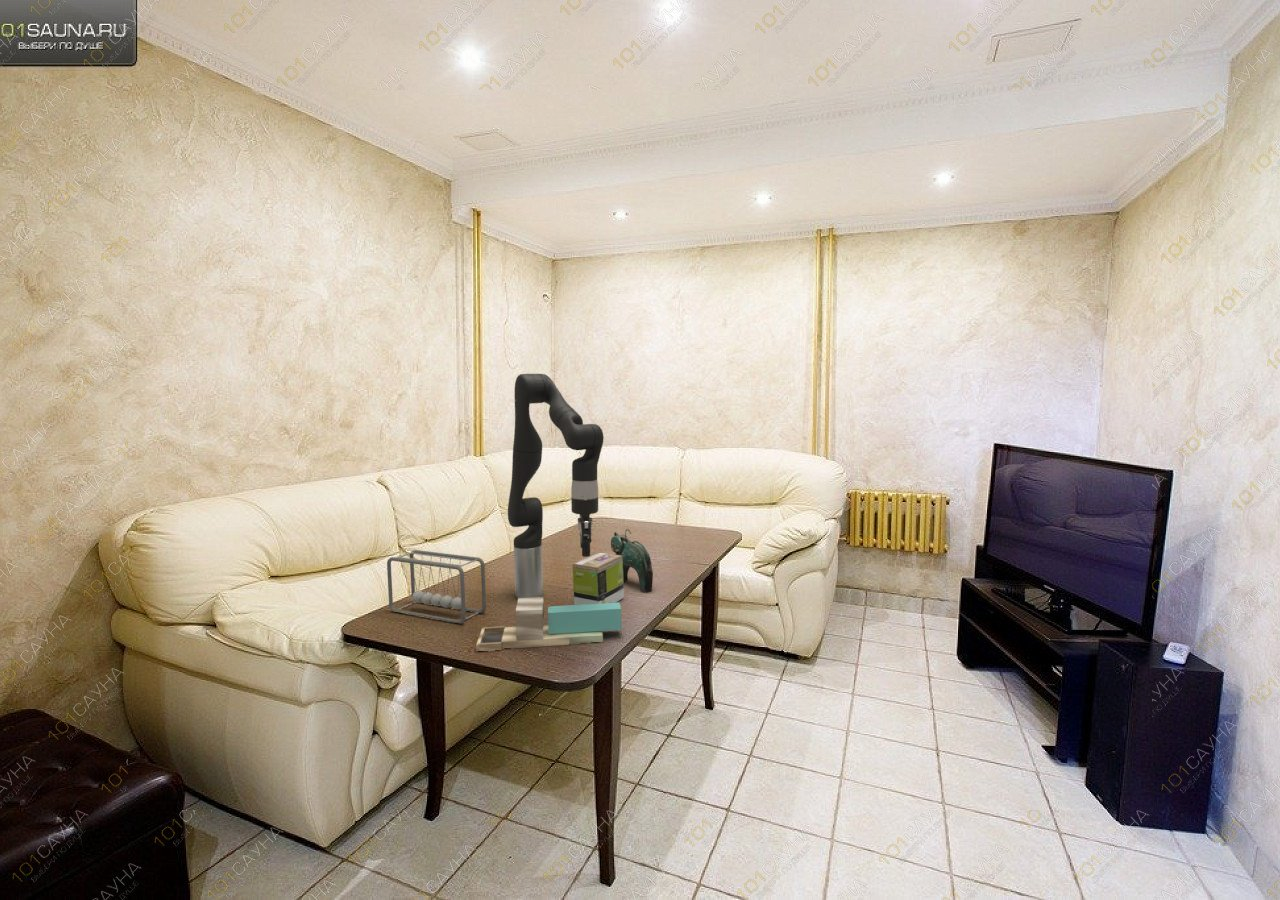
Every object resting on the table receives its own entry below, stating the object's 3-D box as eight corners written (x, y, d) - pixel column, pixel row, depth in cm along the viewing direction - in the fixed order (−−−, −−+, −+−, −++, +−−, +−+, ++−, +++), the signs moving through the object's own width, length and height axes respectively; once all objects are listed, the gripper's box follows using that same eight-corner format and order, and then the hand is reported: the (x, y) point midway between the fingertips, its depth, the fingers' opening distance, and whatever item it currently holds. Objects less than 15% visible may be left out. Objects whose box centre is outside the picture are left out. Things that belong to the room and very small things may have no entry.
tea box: (599, 593, 198) (599, 551, 197) (624, 598, 193) (624, 555, 192) (572, 607, 186) (571, 562, 184) (598, 613, 180) (597, 566, 179)
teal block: (548, 627, 164) (548, 606, 163) (619, 622, 167) (619, 602, 166) (548, 634, 159) (547, 613, 158) (621, 629, 162) (621, 608, 161)
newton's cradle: (487, 613, 181) (485, 557, 180) (464, 626, 172) (462, 567, 170) (413, 601, 193) (411, 548, 192) (388, 612, 184) (385, 556, 182)
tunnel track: (482, 634, 165) (481, 599, 164) (600, 626, 169) (599, 592, 168) (476, 652, 153) (475, 614, 152) (603, 643, 158) (602, 607, 157)
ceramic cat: (609, 580, 213) (608, 526, 211) (624, 577, 217) (623, 524, 215) (643, 594, 197) (642, 536, 195) (657, 590, 201) (657, 533, 199)
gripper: (570, 491, 170) (571, 545, 171) (572, 501, 156) (572, 560, 157) (596, 490, 171) (596, 544, 173) (600, 500, 157) (600, 558, 159)
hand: (585, 551), depth 165 cm, fingers open, 8 cm apart
